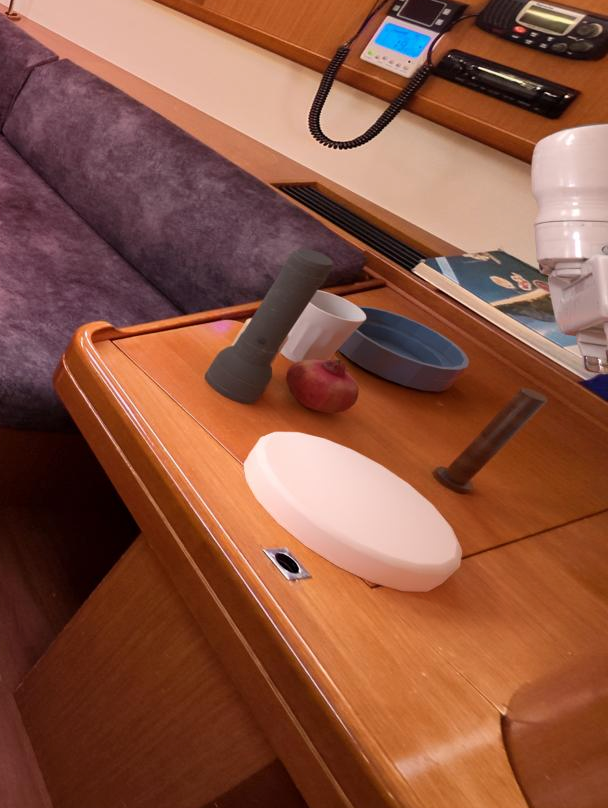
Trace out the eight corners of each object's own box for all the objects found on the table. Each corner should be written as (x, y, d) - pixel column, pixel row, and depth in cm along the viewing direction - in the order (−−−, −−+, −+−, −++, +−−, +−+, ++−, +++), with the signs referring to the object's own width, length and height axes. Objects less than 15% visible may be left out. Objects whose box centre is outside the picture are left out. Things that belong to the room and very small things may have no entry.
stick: (465, 480, 91) (550, 393, 83) (473, 498, 89) (561, 410, 80) (429, 465, 93) (509, 379, 85) (435, 483, 91) (518, 395, 82)
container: (211, 438, 96) (224, 418, 94) (356, 459, 94) (373, 439, 92) (312, 576, 79) (331, 554, 77) (495, 607, 76) (519, 586, 74)
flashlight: (194, 372, 108) (233, 405, 102) (270, 243, 96) (320, 273, 90) (229, 368, 109) (269, 402, 103) (309, 241, 97) (360, 270, 91)
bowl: (435, 356, 113) (455, 332, 111) (458, 410, 103) (481, 384, 100) (321, 317, 122) (337, 294, 119) (331, 363, 111) (349, 338, 108)
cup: (288, 367, 110) (323, 316, 105) (260, 335, 117) (291, 286, 112) (341, 376, 108) (379, 325, 103) (309, 343, 115) (343, 294, 110)
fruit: (355, 430, 98) (390, 386, 94) (294, 418, 100) (326, 374, 96) (321, 390, 105) (352, 348, 101) (264, 379, 107) (293, 337, 103)
